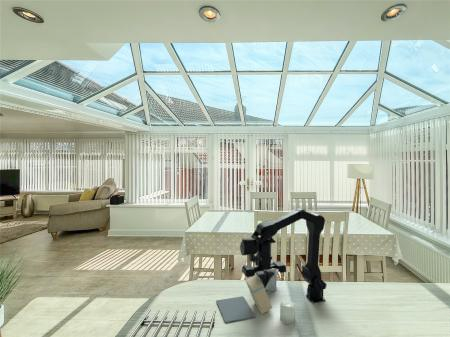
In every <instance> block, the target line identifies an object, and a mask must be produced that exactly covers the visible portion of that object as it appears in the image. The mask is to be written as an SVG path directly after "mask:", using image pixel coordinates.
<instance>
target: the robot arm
mask: <svg viewBox="0 0 450 337" xmlns="http://www.w3.org/2000/svg"><path fill="white" fill-rule="evenodd" d="M300 220H304V221H305V225H306V229H307V230H308V240H307V241H308V243H307V244H308V245H307V258H306V259H307V260H306V263H305V265H302V267H301V269H302V271H301V275H302V277H303V279H304V280H305V282H306V283H308V284H307V288H306V294H305V296H306V298H308V299H309V301H311V302H312V303H315V304H316V303H320V302H326V298H325V297H324V290H326V289H327V283H326V282H324V281H323V279H322V270H321V269H320V266H319V261H320V260H319V257H320V254H319V253H320V241H321V233H322V232H323V231H324V228H325V224H326V219H325V217H324V216H323V215H321V214H318V213H316V212H313V211H311V212H309V211H306V210H305V209H302V208H295V209H294V210H292V211H290V212H288V213H286V214H284V215H281V216H280V217H277V218H276V219H274V220H268V221H263V222H260V223H258V224H256V227H255V231H254V232H253V233H252V235H251V236H250V237H251V238H241V241H240V244H239V249H240V250H239V251H240V254H241V256H248V261H249V262H250V263H251V262H252V263H253V264H255V266H253V265H252V264H247V265H246V264H244V265H242V266H241V272H242V274H243V275H244V276H245V278H249V277H252V276H254V275H257V276H258V277H259V278H260V280H261V282H262V284H263V285H264V288H266V286H267V284H268V282H269V280H270V279H271V277H272V276H273V275H274V273H273V270H275V269H276V270H277V271H278V272H279V273H281V274H283V273H287V266H286V265H285V264H284V263H283V262H282V261H281V260H279V261H273V262H272V260H273V256H272V244H275V243H277V242H276V240H275V239H274V238H273V237H274V236H275V235H276V234H277V233H278V232H279V231H280V230H282V229H284V228H285V227H287V226H290V225H293V224H294V223H296V222H298V221H300ZM271 263H273V265H271ZM256 266H258V267H256Z"/></svg>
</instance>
